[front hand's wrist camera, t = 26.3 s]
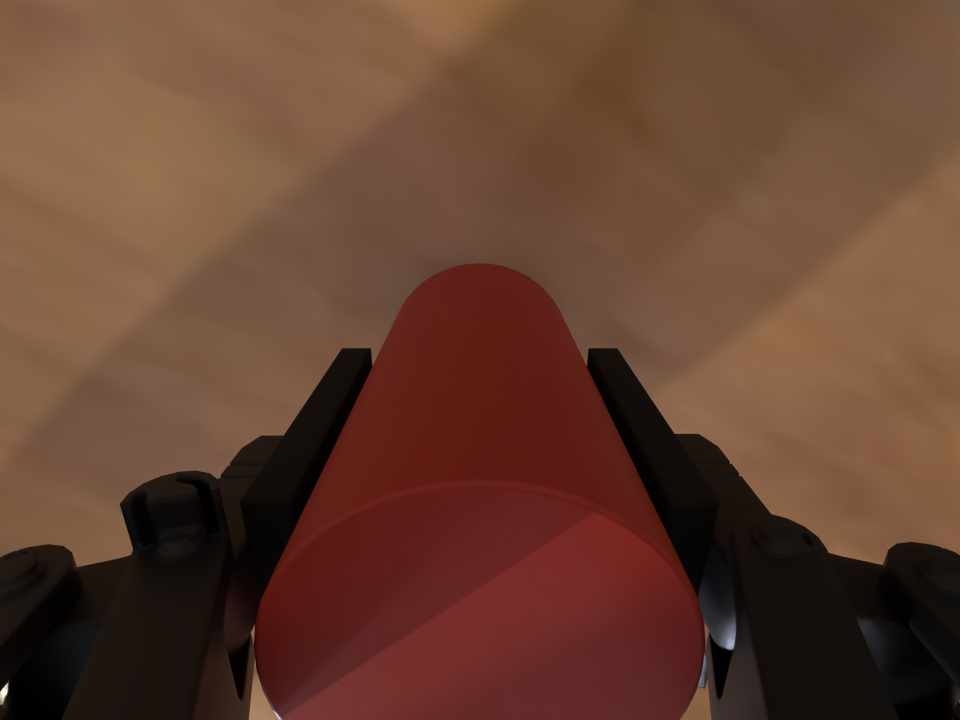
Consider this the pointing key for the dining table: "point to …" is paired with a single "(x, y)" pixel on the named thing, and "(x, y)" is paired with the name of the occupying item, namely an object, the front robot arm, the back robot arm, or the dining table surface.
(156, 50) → the dining table surface
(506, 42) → the dining table surface
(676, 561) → the cylinder
